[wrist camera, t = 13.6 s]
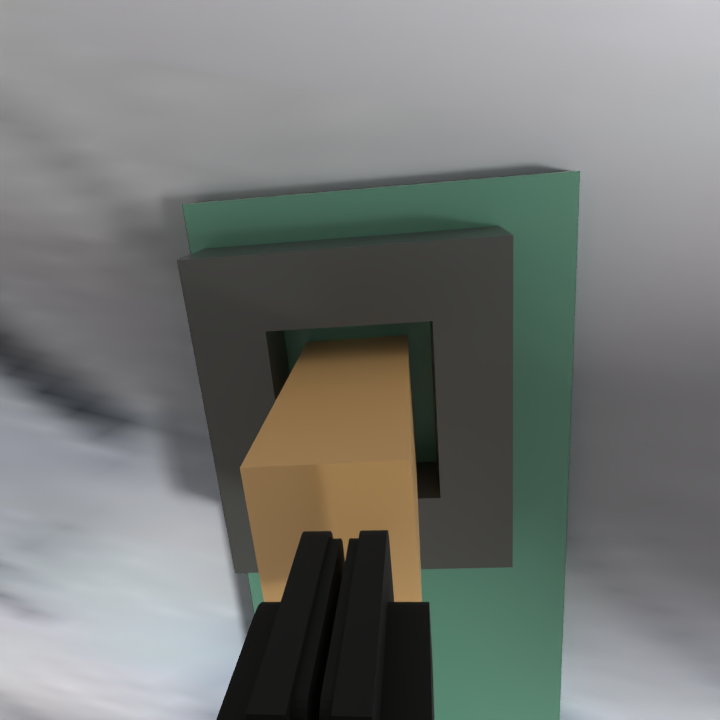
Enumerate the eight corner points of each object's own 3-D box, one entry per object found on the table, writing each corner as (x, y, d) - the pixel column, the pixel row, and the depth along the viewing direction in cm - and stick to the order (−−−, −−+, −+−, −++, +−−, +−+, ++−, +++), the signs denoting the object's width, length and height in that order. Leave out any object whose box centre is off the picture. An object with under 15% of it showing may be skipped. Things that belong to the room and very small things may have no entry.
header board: (569, 170, 19) (606, 172, 16) (551, 739, 28) (572, 822, 24) (194, 202, 20) (151, 210, 17) (285, 737, 29) (269, 816, 25)
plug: (407, 334, 20) (410, 459, 12) (417, 474, 22) (426, 670, 14) (307, 341, 21) (240, 468, 12) (324, 478, 22) (276, 671, 14)
